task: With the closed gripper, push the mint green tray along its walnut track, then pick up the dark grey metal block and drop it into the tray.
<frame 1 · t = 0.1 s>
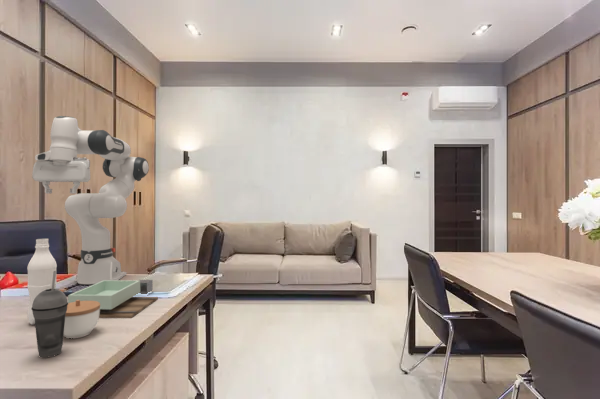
hand: (60, 193, 134), 39 cm above the table, tool pointing down, fingers open, 8 cm apart
mint green tray: (107, 295, 120), point 4 cm above the table, slide at 0.0 cm
metal block: (143, 294, 137), on the table
beverage cup: (50, 354, 85), on the table
track: (116, 307, 120), on the table
water bottle: (42, 323, 106), on the table
lidded jar: (77, 334, 97), on the table
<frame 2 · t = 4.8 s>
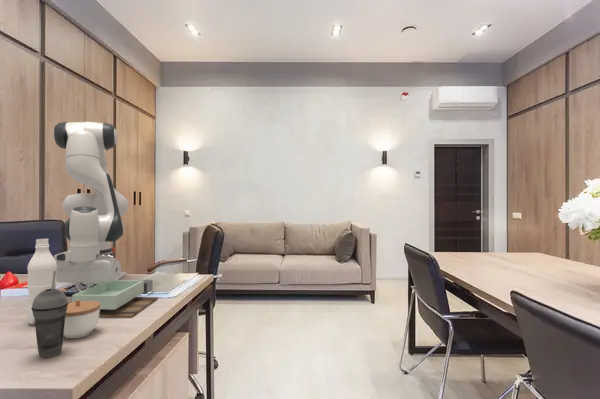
hand: (84, 295, 120), 4 cm above the table, tool pointing down, fingers closed
mint green tray: (110, 295, 120), point 4 cm above the table, slide at 1.3 cm, touching gripper
everything else where it was.
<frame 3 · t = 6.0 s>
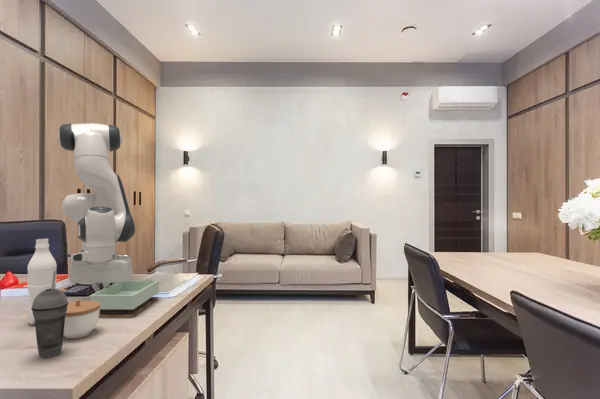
hand: (101, 295, 120), 4 cm above the table, tool pointing down, fingers closed
mint green tray: (127, 295, 120), point 4 cm above the table, slide at 6.9 cm, touching gripper
everything else where it was.
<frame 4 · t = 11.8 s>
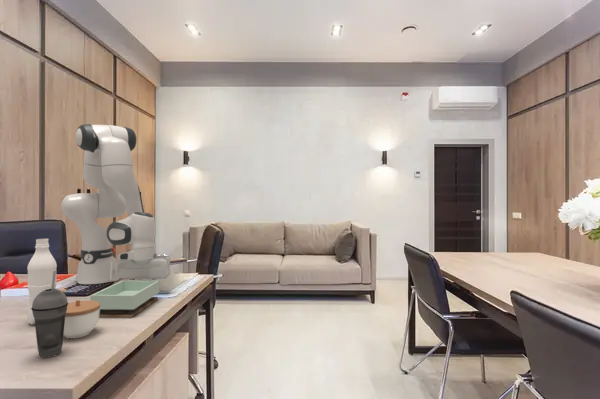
hand: (143, 289, 137), 2 cm above the table, tool pointing down, fingers closed on metal block, 5 cm apart
mint green tray: (127, 295, 120), point 4 cm above the table, slide at 7.0 cm
metal block: (143, 293, 137), on the table, touching gripper
everything else where it was.
when the fingers open (7 cm above the table, at t = 16.8 s): metal block drops 2 cm, resting on mint green tray.
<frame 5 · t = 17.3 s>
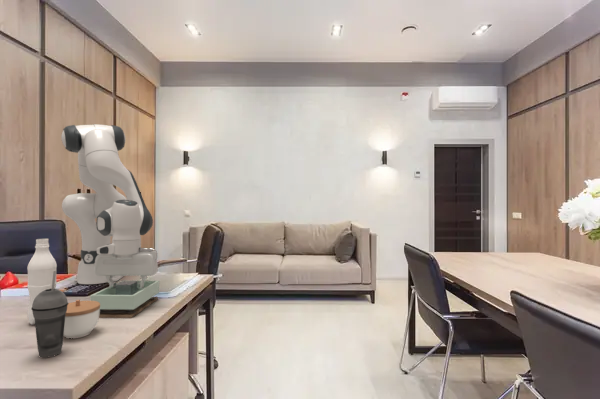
hand: (126, 288, 120), 7 cm above the table, tool pointing down, fingers open, 8 cm apart
mint green tray: (127, 295, 120), point 4 cm above the table, slide at 7.0 cm, touching metal block
metal block: (126, 297, 120), point 3 cm above the table, touching mint green tray
everything else where it was.
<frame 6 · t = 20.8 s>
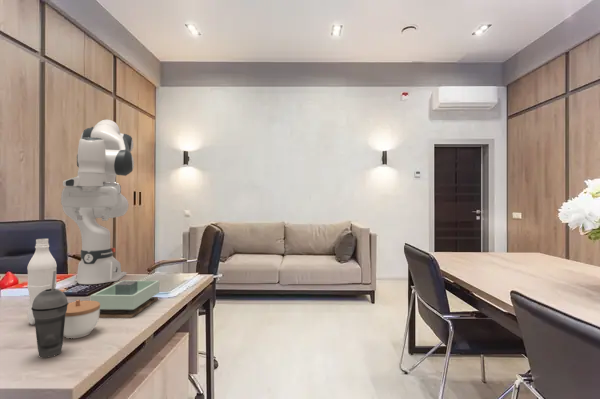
hand: (92, 220, 127), 29 cm above the table, tool pointing down, fingers open, 8 cm apart
nothing on the table moved.
at the end: mint green tray slide at 7.0 cm; metal block inside the target area (0.1 cm from its centre), point 3.4 cm above the table; metal block touching mint green tray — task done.
